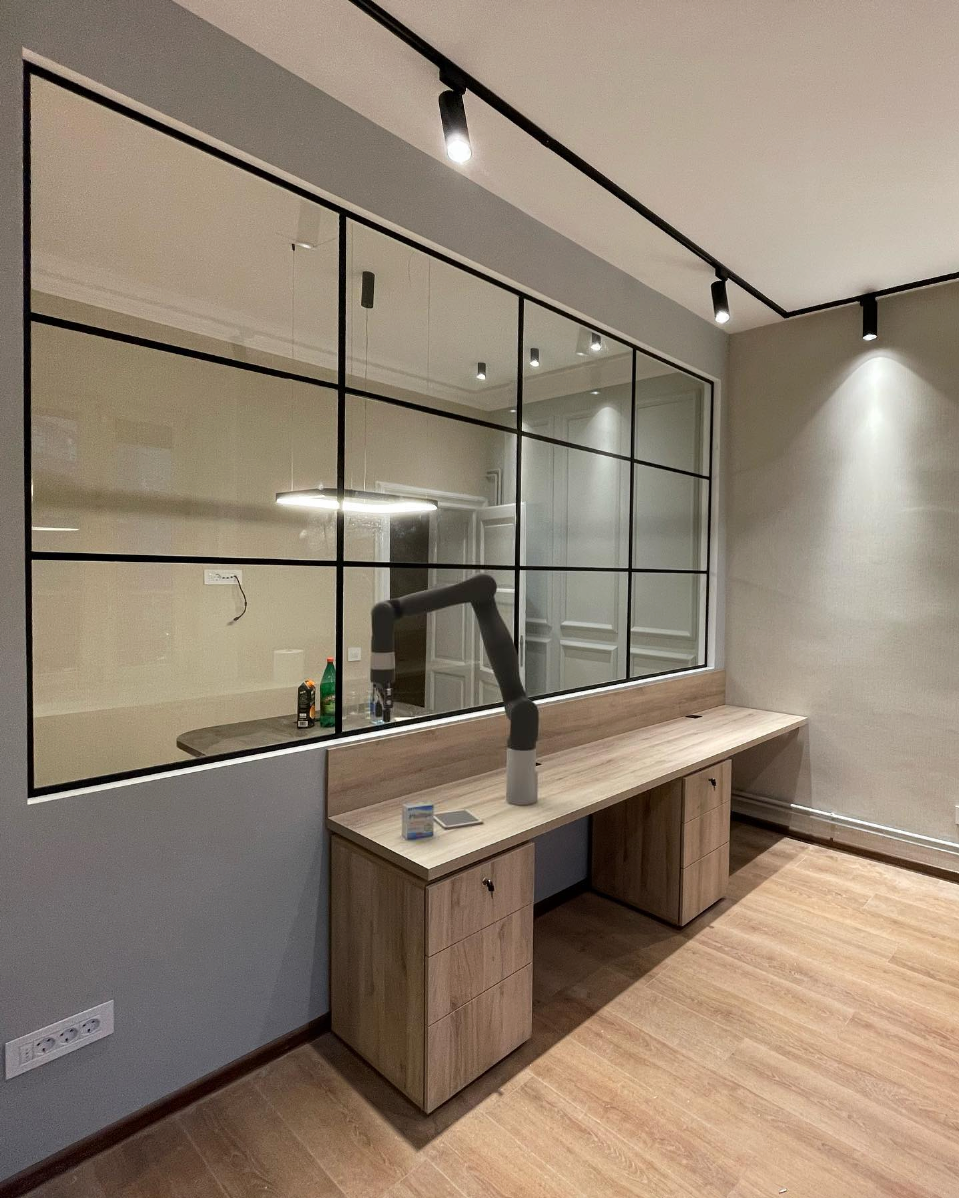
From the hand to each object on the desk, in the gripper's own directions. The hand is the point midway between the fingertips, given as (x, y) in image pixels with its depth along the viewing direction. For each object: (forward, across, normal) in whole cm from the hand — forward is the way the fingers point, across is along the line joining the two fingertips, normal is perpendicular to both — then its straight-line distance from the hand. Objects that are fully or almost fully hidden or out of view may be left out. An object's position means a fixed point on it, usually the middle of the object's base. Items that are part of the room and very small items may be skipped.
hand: (382, 719), depth 209 cm
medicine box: (+28, -26, -2) cm, 38 cm away
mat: (+28, -19, -17) cm, 37 cm away
